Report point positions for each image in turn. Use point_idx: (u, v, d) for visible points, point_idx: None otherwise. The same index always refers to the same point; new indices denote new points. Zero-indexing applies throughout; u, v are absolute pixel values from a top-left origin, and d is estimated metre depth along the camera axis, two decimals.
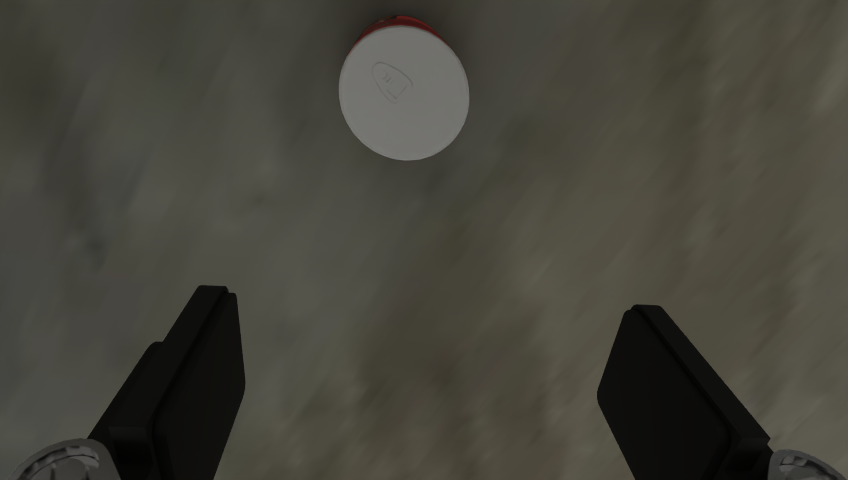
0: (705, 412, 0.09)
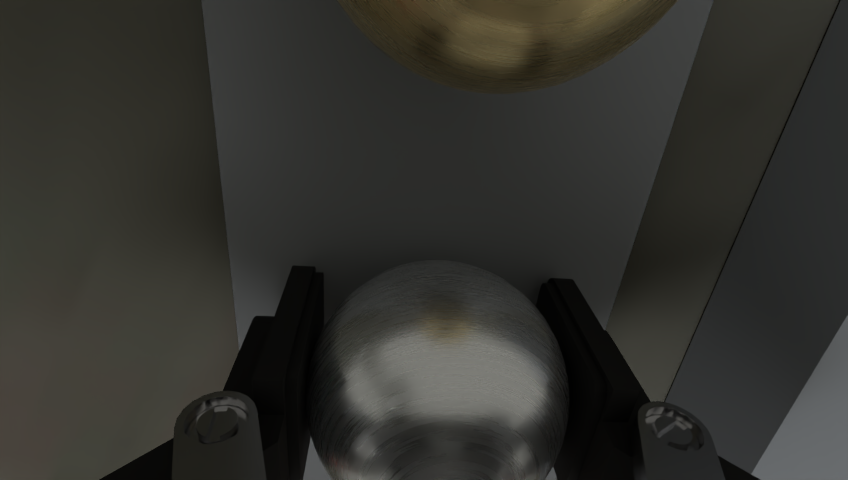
0: (588, 369, 0.09)
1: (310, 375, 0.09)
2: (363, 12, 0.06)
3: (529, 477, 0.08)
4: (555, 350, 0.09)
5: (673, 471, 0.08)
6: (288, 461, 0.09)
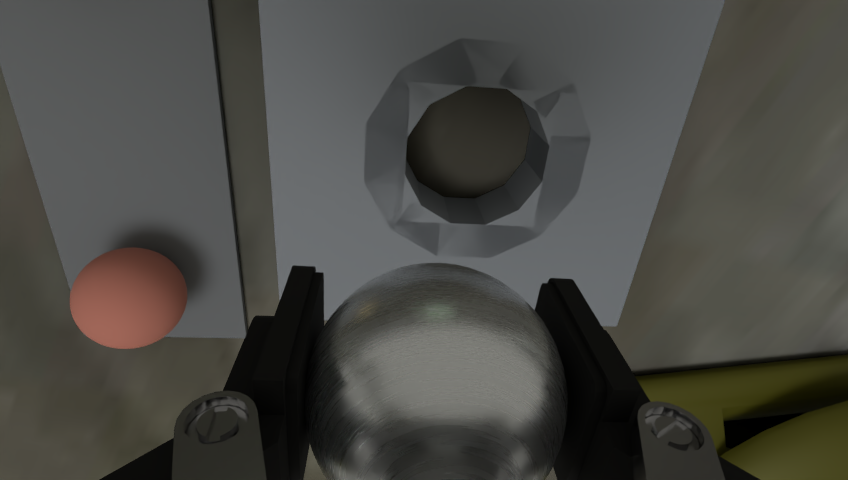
0: (588, 369, 0.09)
1: (308, 378, 0.09)
2: None
3: None
4: (553, 353, 0.09)
5: (673, 471, 0.08)
6: (288, 461, 0.09)
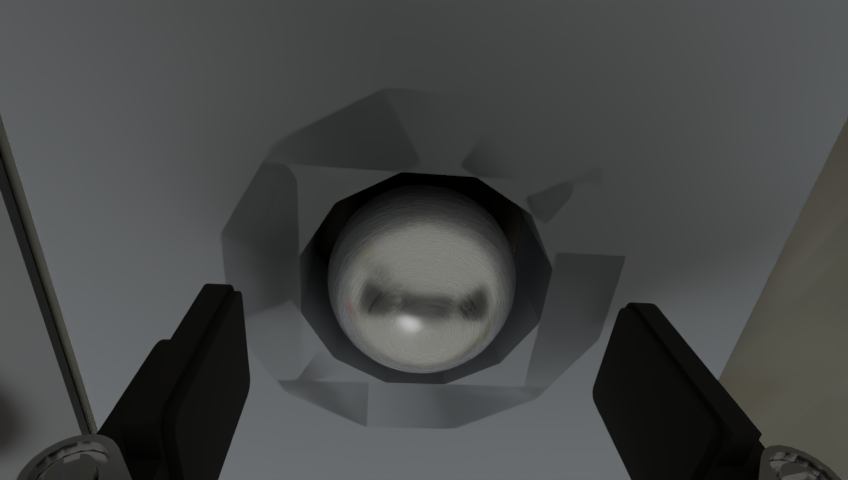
0: (697, 408, 0.09)
1: (331, 260, 0.13)
2: None
3: (482, 320, 0.12)
4: (504, 242, 0.13)
5: None
6: None
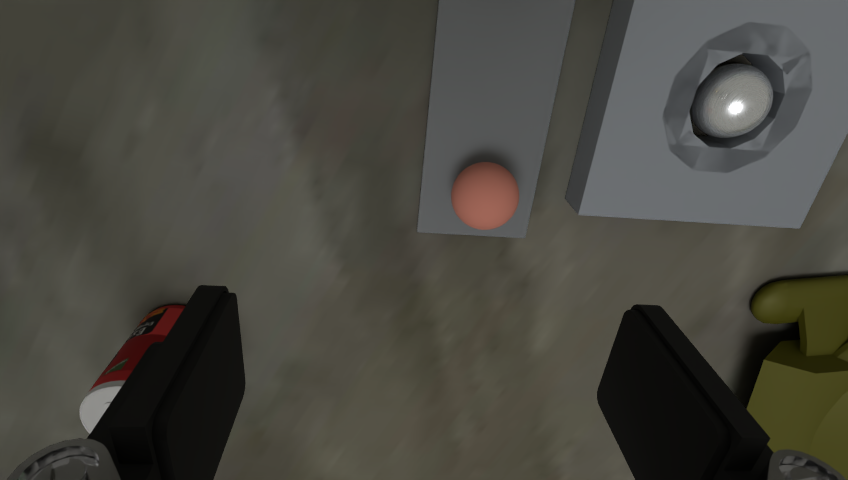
0: (705, 412, 0.09)
1: (704, 90, 0.36)
2: None
3: (768, 106, 0.35)
4: None
5: None
6: None
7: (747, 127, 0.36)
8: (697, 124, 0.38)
